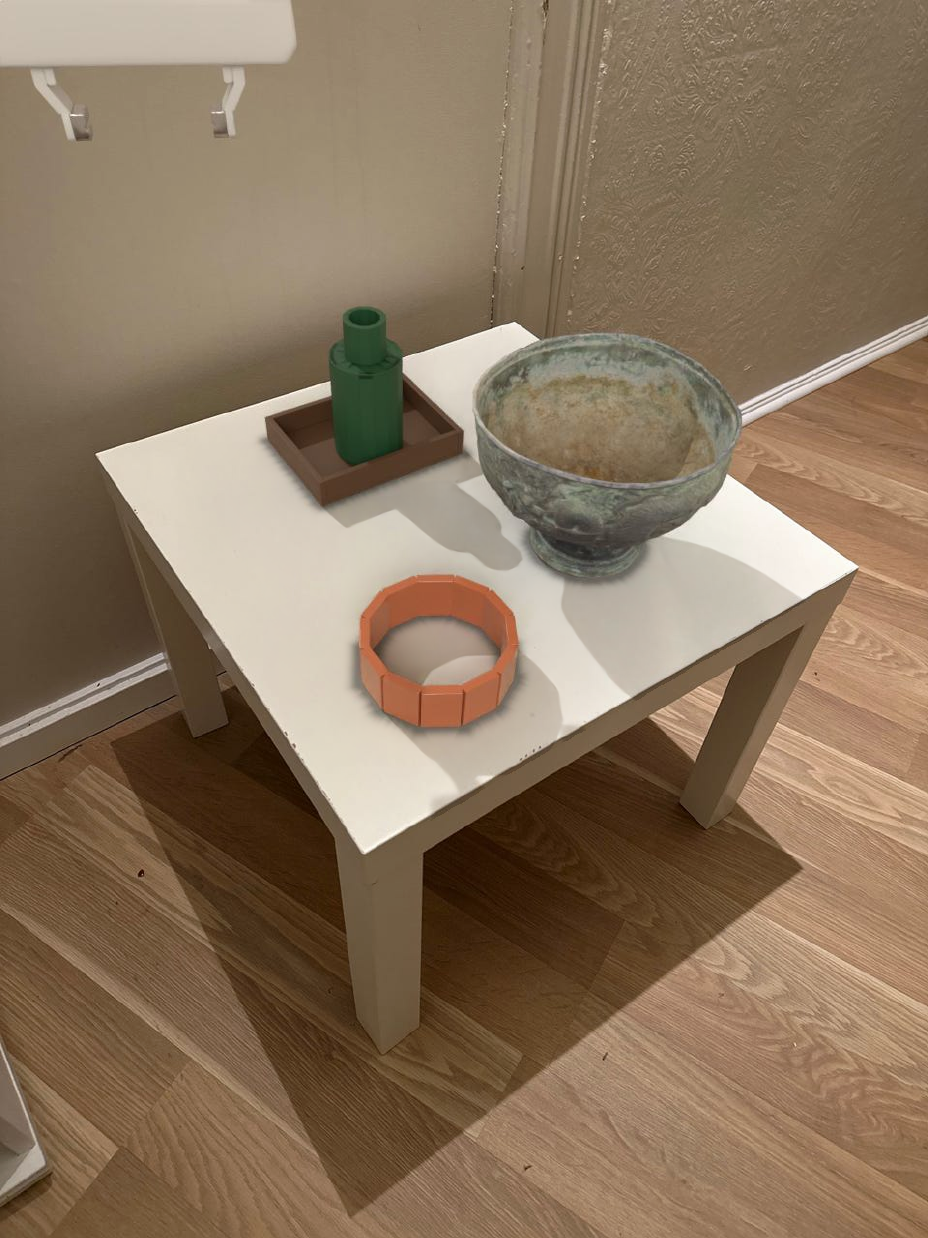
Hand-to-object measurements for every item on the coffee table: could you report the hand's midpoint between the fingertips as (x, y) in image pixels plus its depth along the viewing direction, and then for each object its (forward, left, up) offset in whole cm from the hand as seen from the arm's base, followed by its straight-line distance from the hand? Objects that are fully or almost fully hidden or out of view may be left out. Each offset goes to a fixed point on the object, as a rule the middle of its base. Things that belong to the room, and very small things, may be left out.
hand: (154, 136), depth 60 cm
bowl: (+32, -10, -29) cm, 45 cm away
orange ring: (+19, -23, -29) cm, 42 cm away
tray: (+13, +4, -29) cm, 32 cm away
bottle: (+14, +3, -29) cm, 32 cm away
